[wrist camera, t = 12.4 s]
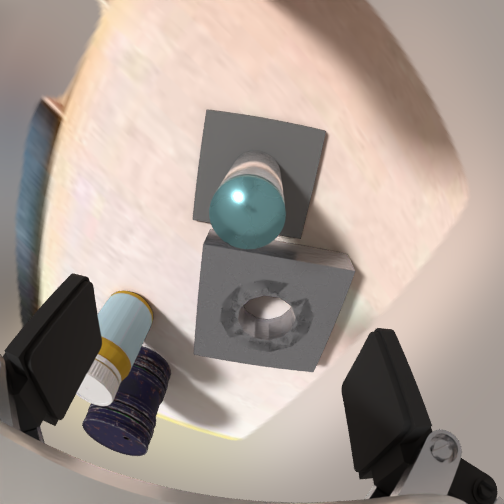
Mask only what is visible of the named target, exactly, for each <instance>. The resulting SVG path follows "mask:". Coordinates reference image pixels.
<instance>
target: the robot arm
mask: <svg viewBox="0 0 504 504" xmlns="http://www.w3.org/2000/svg"><path fill="white" fill-rule="evenodd" d="M101 346H102V337H101V331H100V326H99V320H98V315H97V308H96V302H95V295H94V288H93V284H92V283H91V282H90V281H89V278H88V277H86V276H82V275H78V274H71V275H70V276H69V277H68V278H67V279H66V280H65V281H64V282H63V283H62V284H61V285H60V286H59V287H58V289H57V290H56V291H55V292H54V293H53V294H52V295H51V296H50V297H49V298H48V299H47V301H46V302H45V303H44V304H43V305H42V306H41V307H40V308H39V310H38V311H37V312H36V313H35V314H34V315H33V316H32V318H31V319H30V320H29V321H28V322H27V323H26V325H25V326H24V327H23V328H22V329H21V331H20V332H19V333H18V334H17V336H16V337H15V338H14V339H13V340H12V342H11V343H10V344H9V345H8V347H7V348H6V349H5V354H4V356H3V357H2V355H1V354H0V504H504V500H503V499H502V498H501V497H498V498H496V497H497V486H496V483H495V482H494V480H493V479H492V478H491V477H490V476H489V475H487V474H486V473H484V472H482V471H481V470H479V469H478V468H476V467H475V466H473V465H471V464H470V463H468V462H467V461H465V460H464V459H462V458H461V454H462V449H461V445H460V443H459V440H458V439H457V438H456V436H454V435H453V434H452V433H451V432H449V431H446V430H440V429H439V430H435V431H433V432H432V429H431V426H432V424H431V421H430V419H429V416H428V413H427V410H426V408H425V405H424V402H423V399H422V397H421V394H420V392H419V389H418V386H417V384H416V381H415V379H414V376H413V374H412V372H411V369H410V366H409V364H408V362H407V359H406V357H405V355H404V352H403V350H402V348H401V345H400V343H399V341H398V338H397V336H396V334H395V332H394V330H392V329H382V328H377V329H376V330H375V331H374V332H371V333H370V334H369V336H368V338H367V340H366V341H365V343H364V345H363V347H362V349H361V351H360V353H359V355H358V357H357V358H356V361H355V362H354V364H353V366H352V368H351V369H350V371H349V373H348V375H347V377H346V378H345V380H344V382H343V385H342V396H343V401H344V407H345V413H346V419H347V425H348V431H349V437H350V443H351V450H352V456H353V463H354V469H355V471H356V472H359V478H360V479H368V478H373V481H374V486H373V487H372V489H371V491H370V492H369V493H368V495H367V496H366V498H365V499H364V500H352V501H337V502H315V503H287V502H285V503H284V502H264V501H252V500H240V499H232V498H224V497H217V496H210V495H204V494H198V493H192V492H187V491H182V490H177V489H173V488H168V487H164V486H160V485H157V484H153V483H149V482H145V481H141V480H138V479H135V478H131V477H128V476H125V475H122V474H119V473H116V472H113V471H109V470H107V469H104V468H101V467H98V466H96V465H93V464H91V463H88V462H86V461H83V460H81V459H78V458H76V457H73V456H71V455H69V454H67V453H64V452H62V451H59V450H57V449H55V448H53V447H51V446H49V445H47V444H45V443H44V439H43V436H42V432H41V429H40V425H41V423H42V421H46V422H48V423H50V424H52V425H54V426H56V424H57V422H58V420H62V419H63V418H64V416H65V414H66V412H67V410H68V408H69V406H70V404H71V402H72V400H73V399H74V397H75V395H76V393H77V391H78V389H79V387H80V385H81V383H82V382H83V380H84V378H85V376H86V374H87V373H88V371H89V369H90V367H91V365H92V364H93V362H94V360H95V358H96V356H97V355H98V353H99V351H100V349H101Z"/></svg>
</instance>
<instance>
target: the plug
mask: <svg viewBox="0 0 504 504" xmlns="http://www.w3.org/2000/svg"><path fill="white" fill-rule="evenodd" d="M209 217H210V222H211V225H212V227H213V229H214V231H215V232H216V234H217V235H218V236H219V237H220V238H221V239H222V240H223V241H224V242H226V243H227V244H229V245H231V246H234V247H236V248H240V249H256V248H260V247H263V246H265V245H267V244H269V243H271V242H272V241H273V240H274V239H275V238H276V237H277V236H278V235H279V234H280V232H281V231H282V229H283V226H284V223H285V218H286V211H285V203H284V195H283V187H282V180H281V172H280V167H279V165H278V163H277V161H276V160H275V159H274V158H273V157H272V156H271V155H269V154H268V153H266V152H263V151H249V152H246V153H244V154H242V155H241V156H240V157H238V158H237V160H236V161H235V162H234V164H233V166H232V167H231V169H230V170H229V172H228V173H227V175H226V177H225V178H224V180H223V181H222V183H221V185H220V186H219V188H218V189H217V191H216V193H215V194H214V196H213V198H212V200H211V203H210V208H209Z"/></svg>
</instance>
